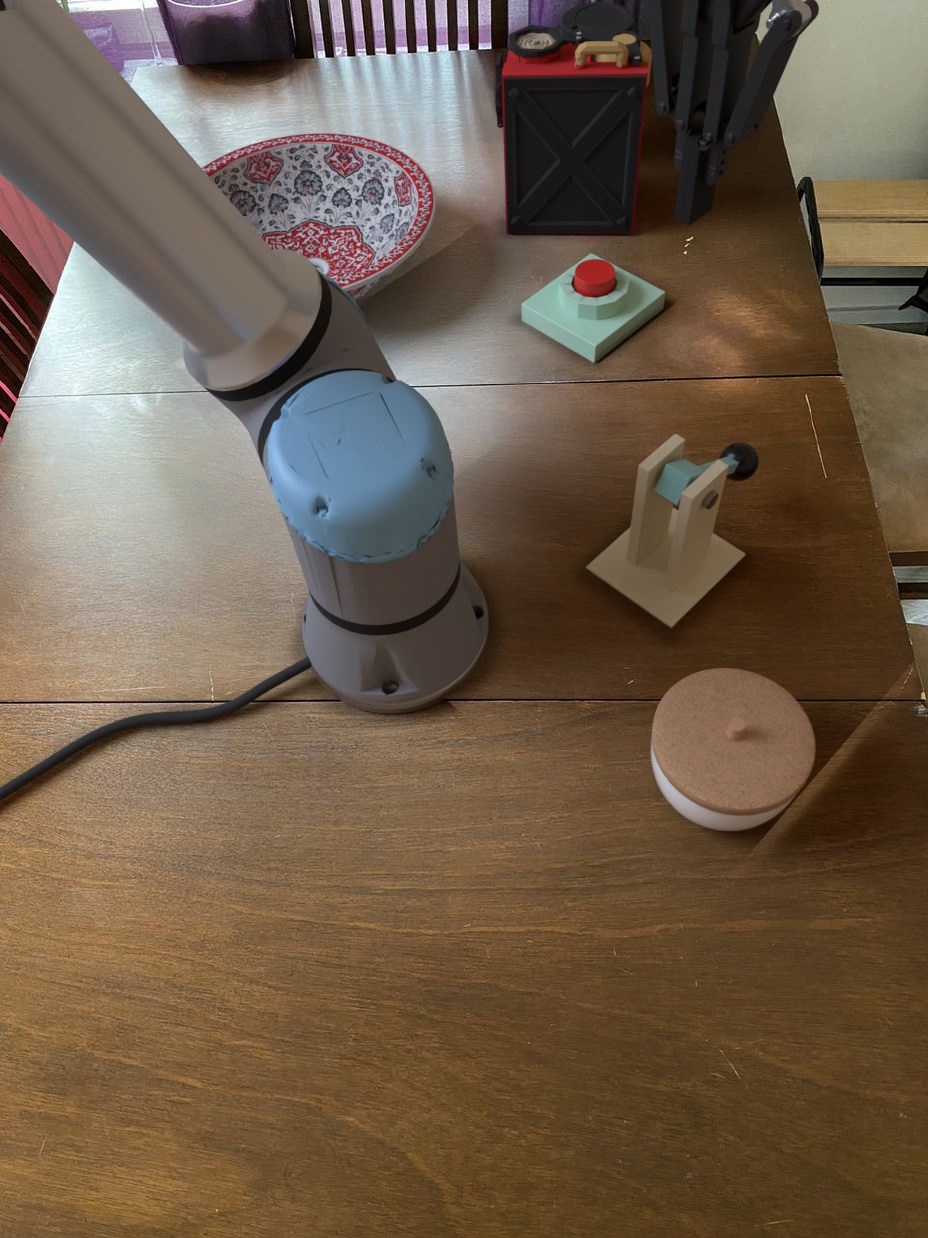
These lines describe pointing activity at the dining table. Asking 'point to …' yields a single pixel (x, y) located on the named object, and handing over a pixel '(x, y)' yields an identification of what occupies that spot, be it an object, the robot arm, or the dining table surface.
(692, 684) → the trinket box
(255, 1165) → the dining table surface
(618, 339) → the button box
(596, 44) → the black and red jerrycan
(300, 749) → the dining table surface
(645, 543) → the bracket
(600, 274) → the button
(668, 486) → the switch
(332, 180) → the ceramic bowl
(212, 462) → the dining table surface
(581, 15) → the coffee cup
